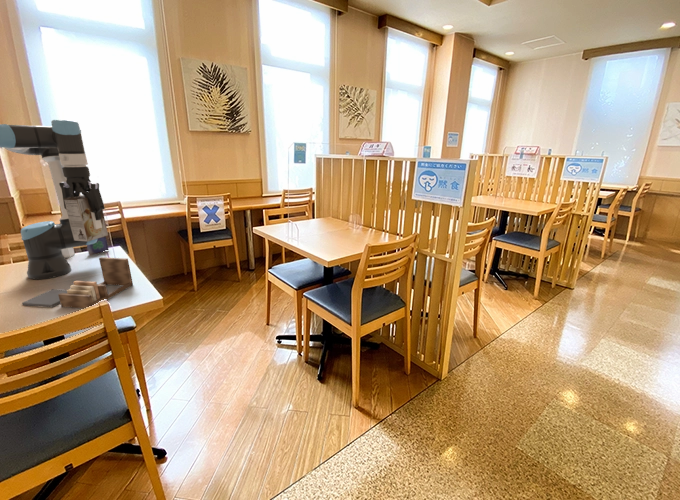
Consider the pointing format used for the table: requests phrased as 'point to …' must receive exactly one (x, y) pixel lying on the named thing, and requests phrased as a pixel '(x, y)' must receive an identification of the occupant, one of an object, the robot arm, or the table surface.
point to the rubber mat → (45, 299)
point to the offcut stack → (85, 289)
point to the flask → (98, 246)
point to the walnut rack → (113, 274)
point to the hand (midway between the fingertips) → (89, 227)
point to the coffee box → (83, 219)
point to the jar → (68, 252)
